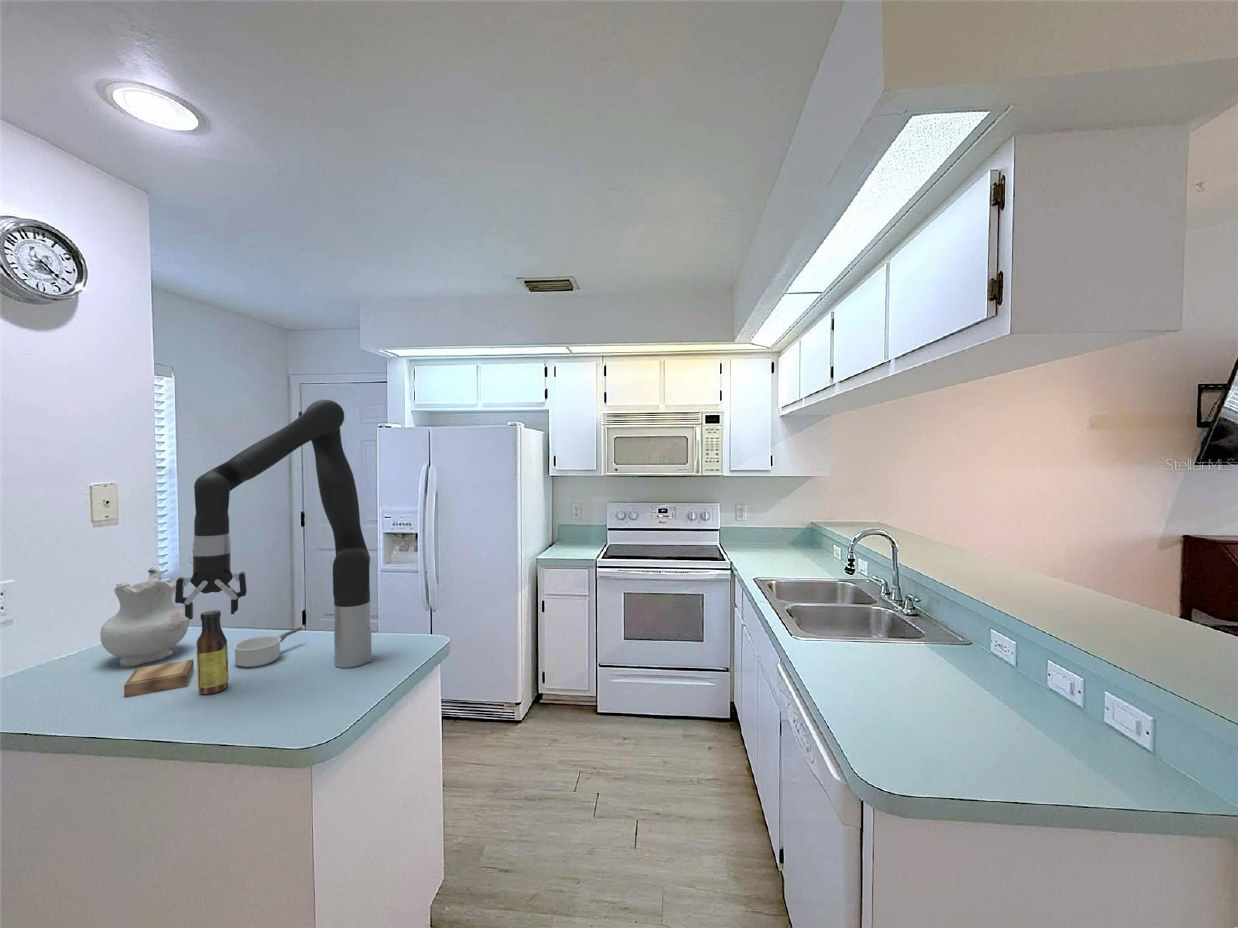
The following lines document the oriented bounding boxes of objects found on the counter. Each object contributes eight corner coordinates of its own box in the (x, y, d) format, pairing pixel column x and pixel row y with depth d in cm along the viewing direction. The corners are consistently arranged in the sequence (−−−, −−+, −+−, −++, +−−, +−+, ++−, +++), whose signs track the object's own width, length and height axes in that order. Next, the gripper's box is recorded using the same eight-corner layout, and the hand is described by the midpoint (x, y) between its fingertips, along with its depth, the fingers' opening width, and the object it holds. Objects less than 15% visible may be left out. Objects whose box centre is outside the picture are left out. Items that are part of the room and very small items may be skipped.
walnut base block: (193, 669, 148) (193, 658, 148) (186, 686, 138) (186, 673, 138) (136, 679, 142) (135, 667, 142) (124, 697, 132) (124, 684, 132)
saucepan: (315, 647, 166) (315, 629, 166) (253, 672, 147) (253, 652, 147) (287, 642, 170) (287, 625, 170) (223, 666, 151) (223, 647, 151)
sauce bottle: (234, 687, 137) (233, 610, 137) (206, 697, 132) (205, 617, 131) (218, 682, 140) (218, 607, 140) (191, 692, 135) (190, 613, 134)
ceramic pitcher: (106, 657, 160) (95, 575, 158) (189, 637, 173) (180, 561, 171) (103, 681, 144) (91, 590, 142) (195, 657, 157) (185, 573, 155)
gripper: (247, 547, 142) (247, 608, 143) (178, 552, 135) (178, 616, 135) (245, 552, 136) (245, 615, 136) (172, 557, 128) (173, 624, 129)
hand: (212, 615), depth 136 cm, fingers open, 8 cm apart
